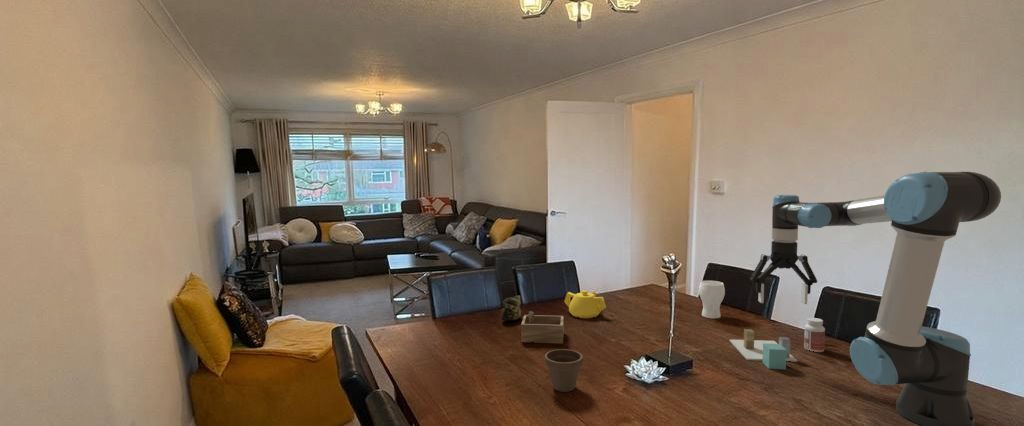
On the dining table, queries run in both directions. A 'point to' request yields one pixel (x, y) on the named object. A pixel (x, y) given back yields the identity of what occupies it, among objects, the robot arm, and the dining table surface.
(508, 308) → the camouflage backpack
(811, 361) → the dining table surface
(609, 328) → the dining table surface
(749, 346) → the oak post
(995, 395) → the dining table surface
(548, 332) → the figurine crate
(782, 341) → the grey post
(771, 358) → the mint green cube
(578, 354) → the flower pot
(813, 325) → the pill bottle
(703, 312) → the cup
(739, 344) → the mat
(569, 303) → the teapot
